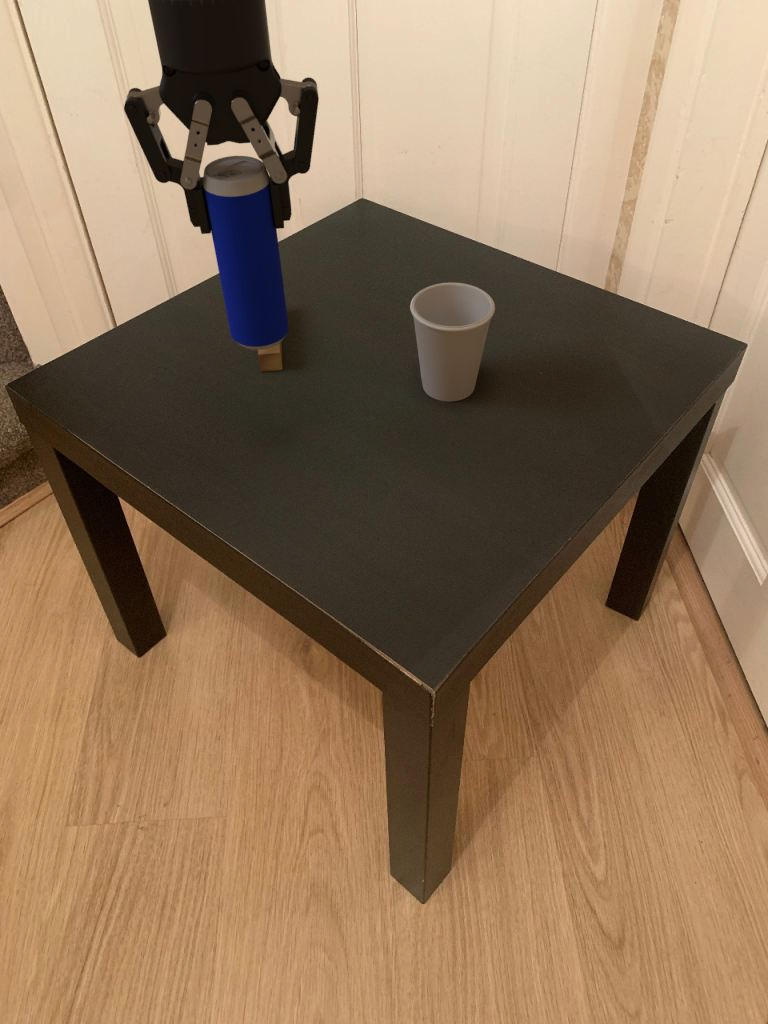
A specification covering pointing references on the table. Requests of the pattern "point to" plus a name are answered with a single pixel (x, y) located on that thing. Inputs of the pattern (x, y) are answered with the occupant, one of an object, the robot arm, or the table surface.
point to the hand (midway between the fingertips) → (242, 225)
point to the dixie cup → (451, 337)
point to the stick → (271, 358)
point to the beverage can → (246, 250)
